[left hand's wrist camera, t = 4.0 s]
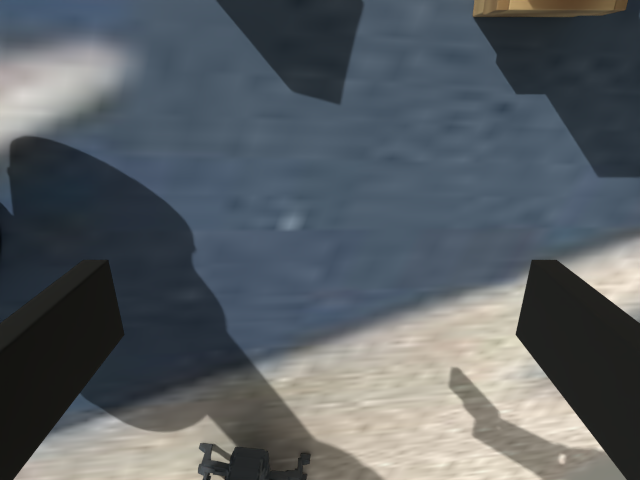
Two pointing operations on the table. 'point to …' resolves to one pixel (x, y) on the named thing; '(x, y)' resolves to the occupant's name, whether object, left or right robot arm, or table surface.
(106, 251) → the table surface
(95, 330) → the left robot arm
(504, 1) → the holder
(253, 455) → the toy
